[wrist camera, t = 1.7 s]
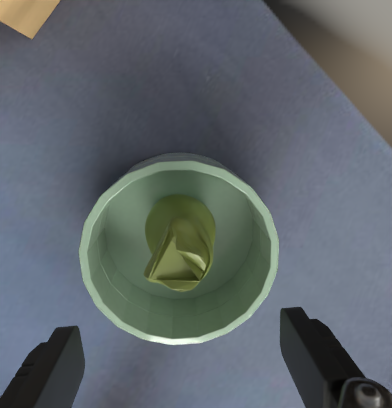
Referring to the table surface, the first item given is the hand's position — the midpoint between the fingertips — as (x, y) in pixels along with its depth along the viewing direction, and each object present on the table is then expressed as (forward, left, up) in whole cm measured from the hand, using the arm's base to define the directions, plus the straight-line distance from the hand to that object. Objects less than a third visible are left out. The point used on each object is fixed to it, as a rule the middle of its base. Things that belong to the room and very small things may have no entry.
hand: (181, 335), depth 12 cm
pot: (+1, 0, -16) cm, 16 cm away
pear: (0, 0, -15) cm, 15 cm away
